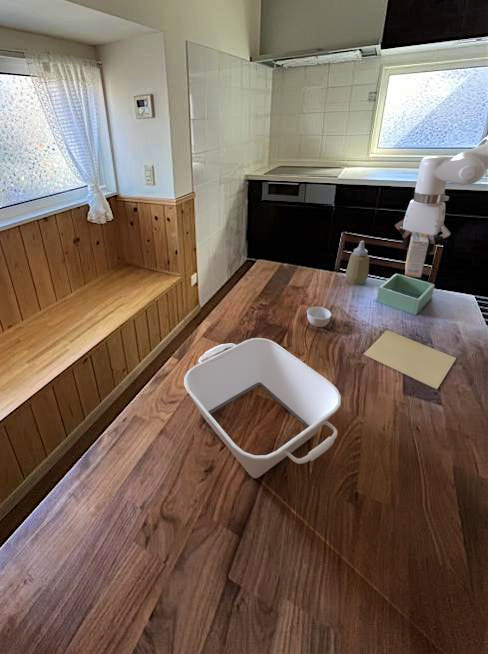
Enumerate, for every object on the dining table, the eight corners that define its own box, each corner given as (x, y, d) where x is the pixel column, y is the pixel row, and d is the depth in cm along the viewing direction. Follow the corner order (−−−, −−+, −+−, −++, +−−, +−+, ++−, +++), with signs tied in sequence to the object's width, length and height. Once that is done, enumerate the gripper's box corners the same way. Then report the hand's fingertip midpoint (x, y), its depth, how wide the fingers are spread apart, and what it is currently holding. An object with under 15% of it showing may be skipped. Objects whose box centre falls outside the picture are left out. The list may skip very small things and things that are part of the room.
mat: (455, 360, 93) (456, 358, 92) (436, 392, 84) (437, 389, 83) (386, 332, 106) (386, 329, 105) (362, 356, 96) (363, 354, 96)
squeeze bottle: (350, 276, 139) (356, 235, 132) (370, 282, 134) (378, 240, 126) (340, 283, 135) (346, 241, 127) (360, 290, 129) (368, 247, 122)
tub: (360, 453, 71) (370, 409, 65) (266, 536, 58) (269, 490, 53) (251, 361, 97) (252, 325, 92) (171, 405, 85) (167, 366, 80)
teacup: (337, 334, 106) (339, 322, 104) (304, 333, 108) (305, 321, 106) (330, 316, 115) (331, 304, 113) (299, 315, 117) (300, 303, 115)
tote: (430, 300, 120) (434, 284, 117) (415, 317, 112) (419, 300, 109) (392, 288, 129) (395, 273, 126) (375, 302, 121) (378, 287, 118)
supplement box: (404, 265, 119) (411, 231, 114) (420, 267, 117) (428, 232, 112) (404, 275, 113) (411, 239, 108) (421, 278, 111) (429, 241, 105)
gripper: (465, 199, 101) (451, 253, 108) (402, 192, 113) (393, 241, 120) (458, 204, 96) (444, 261, 103) (393, 196, 109) (384, 248, 116)
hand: (416, 250), depth 112 cm, fingers closed on supplement box, 6 cm apart
